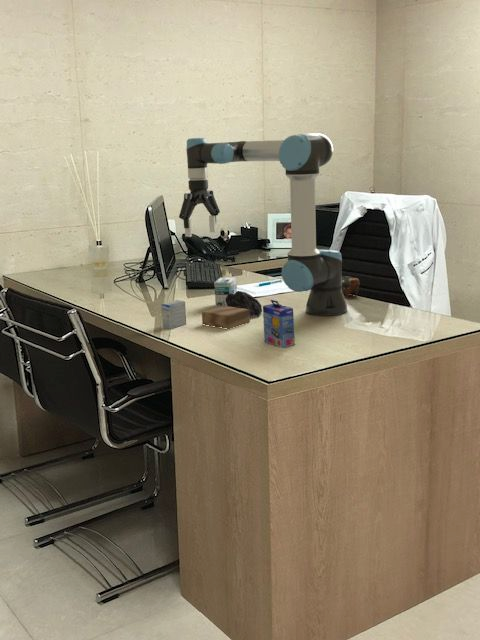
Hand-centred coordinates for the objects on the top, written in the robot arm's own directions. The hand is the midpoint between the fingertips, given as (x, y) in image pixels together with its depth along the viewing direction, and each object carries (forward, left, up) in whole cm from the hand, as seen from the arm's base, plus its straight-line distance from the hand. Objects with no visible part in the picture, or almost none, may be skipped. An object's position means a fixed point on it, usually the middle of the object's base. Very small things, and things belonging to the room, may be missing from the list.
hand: (200, 234), depth 310 cm
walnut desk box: (-29, +20, -28) cm, 45 cm away
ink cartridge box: (-61, +31, -28) cm, 74 cm away
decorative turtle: (-40, -42, -28) cm, 64 cm away
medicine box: (-15, +32, -28) cm, 45 cm away
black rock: (-26, +6, -28) cm, 39 cm away
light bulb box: (-11, -1, -28) cm, 30 cm away
